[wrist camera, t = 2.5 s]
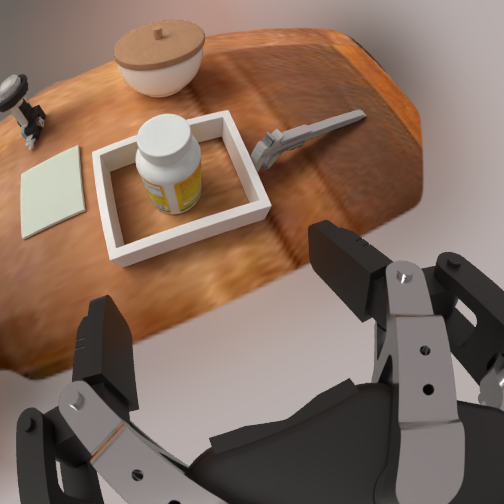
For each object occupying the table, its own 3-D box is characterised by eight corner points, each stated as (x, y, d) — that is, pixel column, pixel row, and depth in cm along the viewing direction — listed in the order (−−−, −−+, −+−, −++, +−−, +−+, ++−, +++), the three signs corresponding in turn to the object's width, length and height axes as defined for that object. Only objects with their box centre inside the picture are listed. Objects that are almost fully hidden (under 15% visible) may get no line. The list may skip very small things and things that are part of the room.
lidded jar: (129, 120, 28) (111, 64, 19) (122, 73, 30) (110, 23, 21) (213, 98, 30) (216, 39, 21) (193, 54, 32) (194, 4, 23)
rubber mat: (85, 211, 25) (83, 209, 24) (24, 239, 23) (22, 238, 23) (79, 146, 26) (78, 144, 26) (23, 175, 25) (21, 173, 24)
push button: (47, 144, 26) (13, 97, 16) (18, 157, 25) (-19, 117, 15) (54, 109, 27) (28, 63, 18) (26, 122, 26) (-3, 81, 17)
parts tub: (264, 219, 27) (271, 205, 24) (122, 267, 24) (110, 260, 21) (226, 129, 29) (228, 110, 26) (102, 168, 26) (92, 152, 23)
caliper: (252, 180, 29) (262, 146, 22) (245, 172, 29) (254, 137, 23) (365, 117, 34) (385, 90, 27) (360, 112, 34) (379, 84, 28)
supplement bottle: (150, 218, 26) (122, 169, 17) (151, 170, 27) (130, 111, 18) (203, 213, 27) (201, 161, 17) (201, 166, 28) (199, 104, 19)
